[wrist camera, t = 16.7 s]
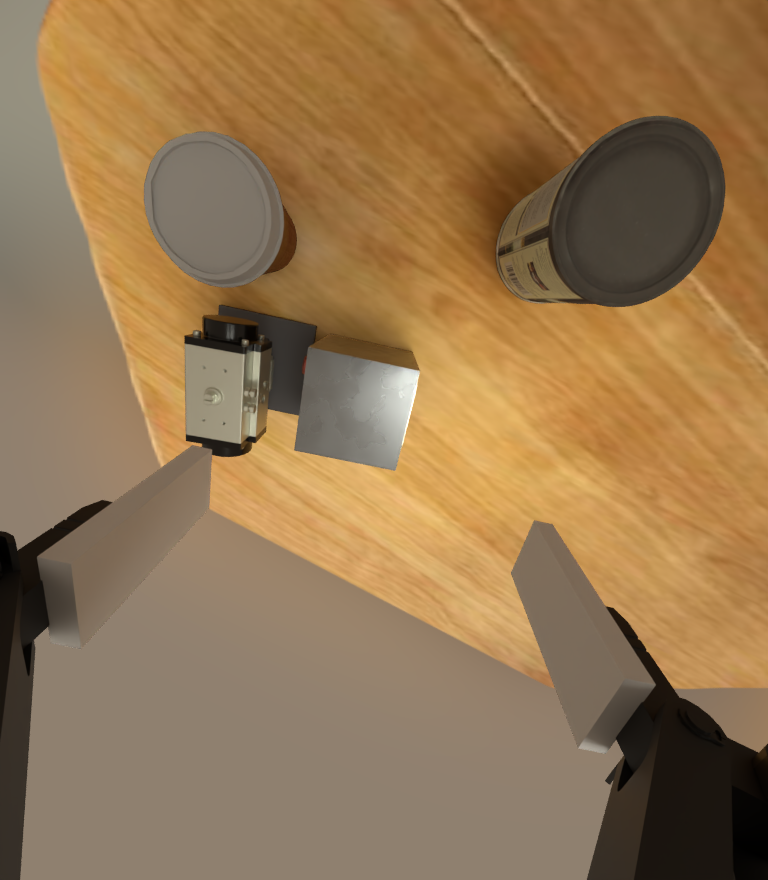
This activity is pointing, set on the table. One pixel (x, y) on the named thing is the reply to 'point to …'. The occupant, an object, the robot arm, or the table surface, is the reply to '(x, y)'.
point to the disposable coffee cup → (217, 210)
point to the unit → (356, 401)
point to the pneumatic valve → (227, 384)
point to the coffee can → (617, 218)
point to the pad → (282, 355)
